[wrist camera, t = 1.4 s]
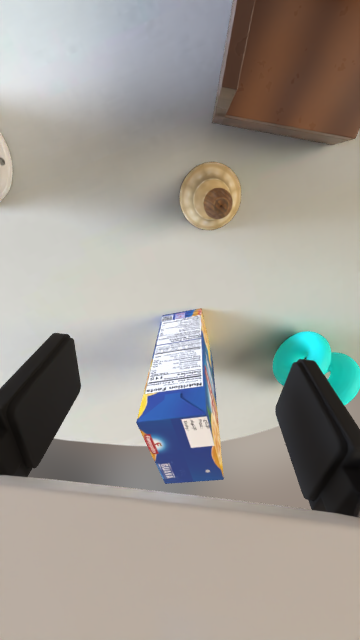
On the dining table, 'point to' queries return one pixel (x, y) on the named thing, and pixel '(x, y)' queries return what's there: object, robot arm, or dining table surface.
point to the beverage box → (182, 402)
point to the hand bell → (210, 195)
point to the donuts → (318, 363)
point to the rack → (292, 69)
